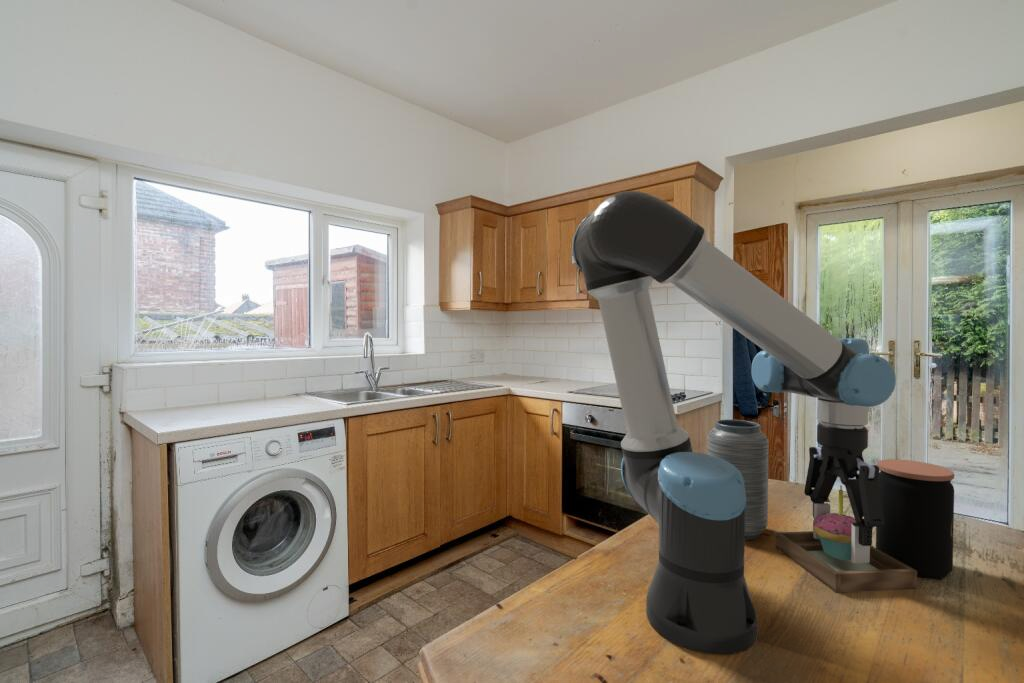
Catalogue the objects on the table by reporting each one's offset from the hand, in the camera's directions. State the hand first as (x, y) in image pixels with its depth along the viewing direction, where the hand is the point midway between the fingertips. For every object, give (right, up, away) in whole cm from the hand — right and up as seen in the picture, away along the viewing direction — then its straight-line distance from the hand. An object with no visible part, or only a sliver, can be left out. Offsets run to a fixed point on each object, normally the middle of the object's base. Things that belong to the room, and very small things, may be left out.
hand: (839, 549), depth 86 cm
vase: (-11, -3, +15) cm, 19 cm away
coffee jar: (+13, -3, 0) cm, 14 cm away
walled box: (0, -3, 0) cm, 3 cm away
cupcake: (0, -1, 0) cm, 1 cm away
